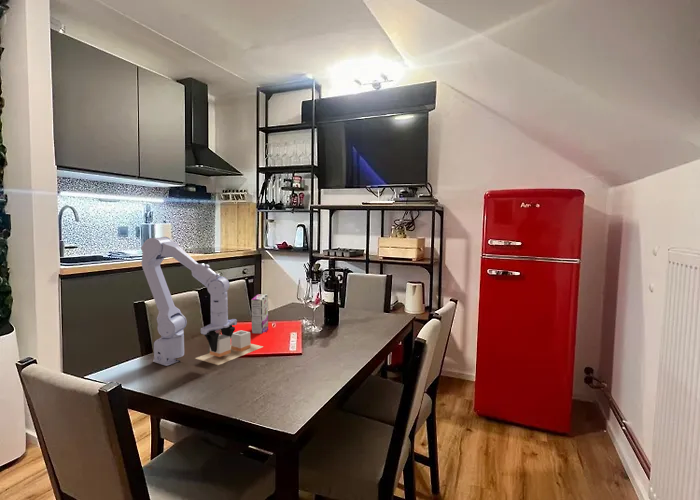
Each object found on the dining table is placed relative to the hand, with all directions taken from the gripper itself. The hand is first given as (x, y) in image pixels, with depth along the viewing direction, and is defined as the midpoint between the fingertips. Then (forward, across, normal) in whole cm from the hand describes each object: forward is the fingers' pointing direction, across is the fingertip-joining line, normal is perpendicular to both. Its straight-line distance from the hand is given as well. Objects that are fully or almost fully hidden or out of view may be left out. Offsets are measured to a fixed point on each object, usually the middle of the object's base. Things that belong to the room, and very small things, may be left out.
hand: (219, 349), depth 137 cm
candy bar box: (+4, +32, +11) cm, 34 cm away
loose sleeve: (+2, 0, 0) cm, 2 cm away
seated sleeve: (+3, +10, 0) cm, 10 cm away
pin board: (+4, +5, 0) cm, 7 cm away
